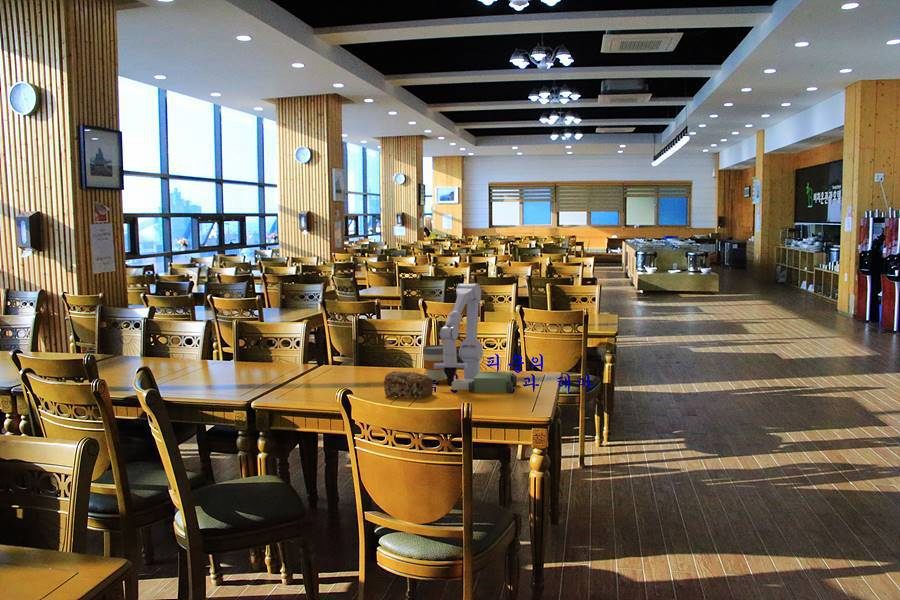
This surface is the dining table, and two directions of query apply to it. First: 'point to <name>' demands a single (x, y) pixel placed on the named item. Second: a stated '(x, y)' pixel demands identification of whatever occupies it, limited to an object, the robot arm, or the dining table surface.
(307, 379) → the dining table surface
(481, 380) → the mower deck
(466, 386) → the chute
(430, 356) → the reusable coffee cup
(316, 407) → the dining table surface
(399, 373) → the bread
